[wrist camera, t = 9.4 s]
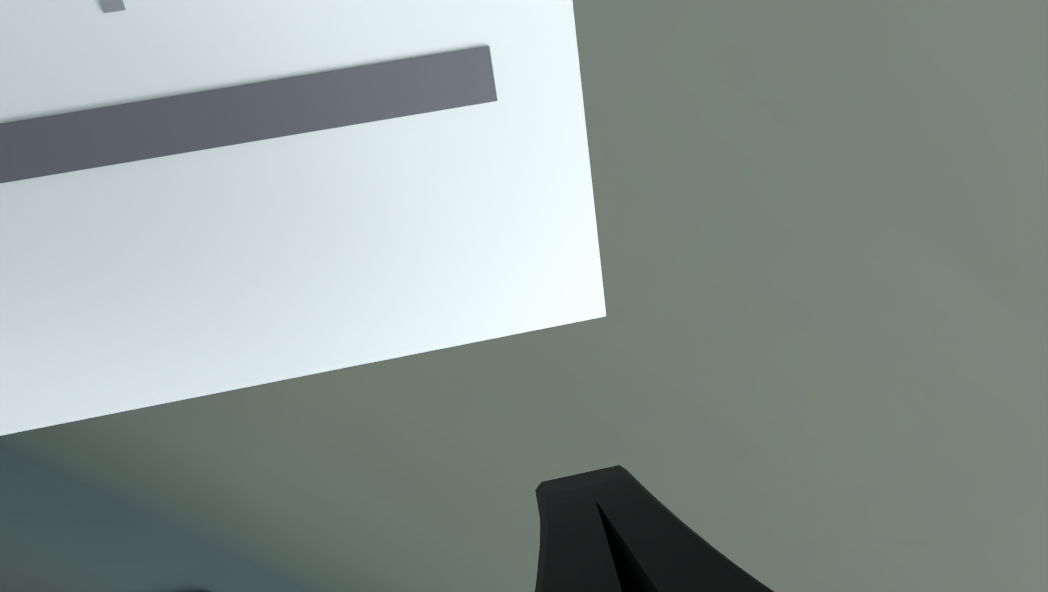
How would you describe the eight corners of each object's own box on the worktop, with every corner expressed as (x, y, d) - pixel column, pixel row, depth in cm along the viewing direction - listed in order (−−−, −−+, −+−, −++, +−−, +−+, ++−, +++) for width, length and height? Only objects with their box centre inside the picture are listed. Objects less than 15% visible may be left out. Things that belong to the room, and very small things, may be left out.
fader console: (588, 289, 21) (607, 317, 20) (-280, 456, 19) (-355, 507, 17) (525, -251, 17) (542, -286, 15) (-649, -110, 14) (-814, -128, 12)
